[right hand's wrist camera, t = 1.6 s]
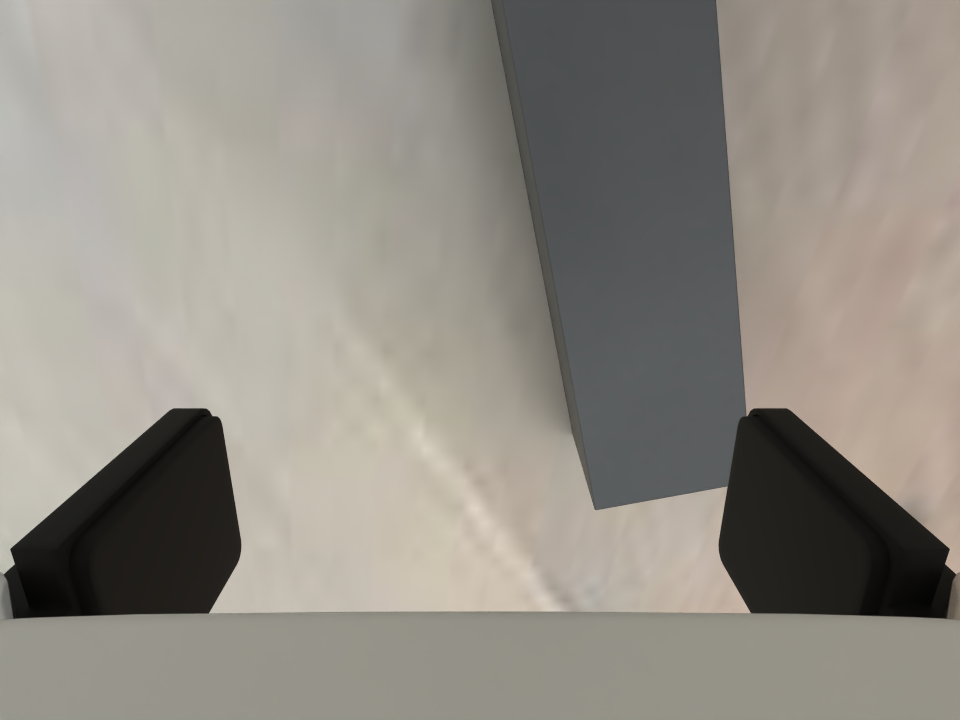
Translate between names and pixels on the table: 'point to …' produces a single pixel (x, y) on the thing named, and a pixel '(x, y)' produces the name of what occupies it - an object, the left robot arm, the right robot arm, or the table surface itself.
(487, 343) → the table surface
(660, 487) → the post
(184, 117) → the table surface
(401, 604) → the table surface
